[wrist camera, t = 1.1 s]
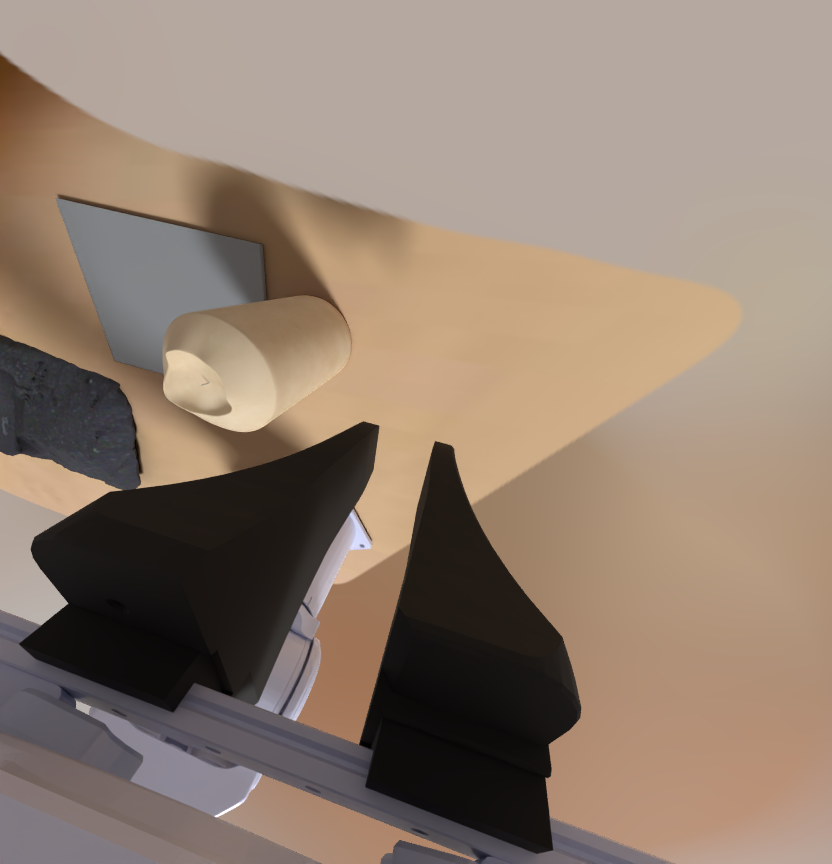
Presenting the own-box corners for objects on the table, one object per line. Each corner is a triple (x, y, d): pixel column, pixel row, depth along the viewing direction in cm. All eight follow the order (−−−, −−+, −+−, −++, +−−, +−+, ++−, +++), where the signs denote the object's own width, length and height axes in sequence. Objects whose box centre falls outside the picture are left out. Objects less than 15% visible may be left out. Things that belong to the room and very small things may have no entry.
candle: (298, 381, 22) (182, 453, 14) (265, 305, 20) (100, 335, 11) (363, 369, 21) (276, 442, 12) (336, 284, 18) (204, 301, 10)
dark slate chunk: (165, 496, 34) (122, 526, 30) (-1, 432, 35) (-65, 453, 31) (134, 378, 26) (71, 399, 22) (-80, 299, 27) (-179, 305, 23)
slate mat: (262, 244, 18) (259, 243, 18) (274, 402, 24) (272, 404, 23) (61, 198, 19) (55, 197, 19) (118, 359, 25) (114, 360, 25)
